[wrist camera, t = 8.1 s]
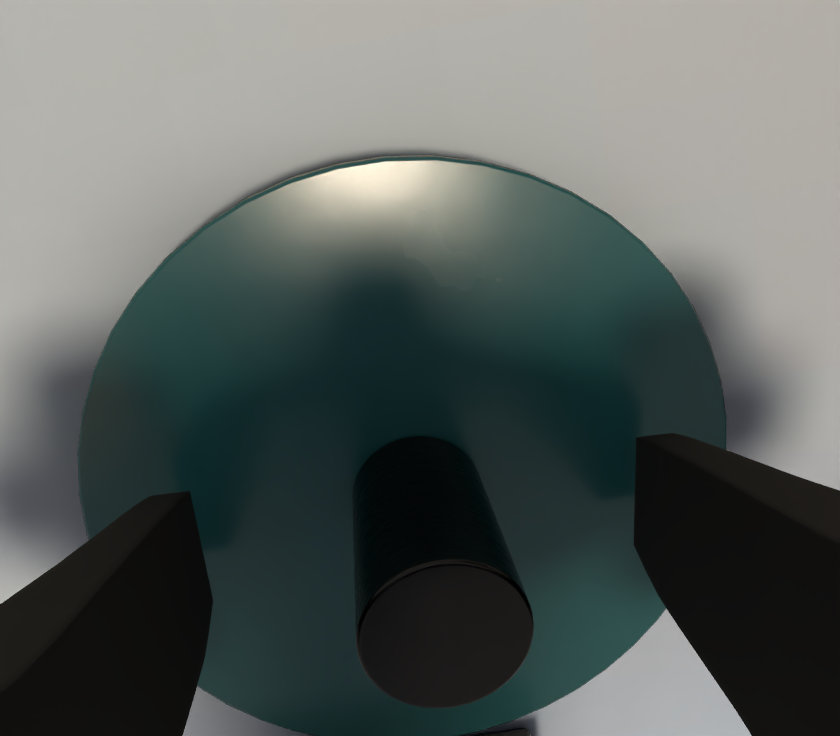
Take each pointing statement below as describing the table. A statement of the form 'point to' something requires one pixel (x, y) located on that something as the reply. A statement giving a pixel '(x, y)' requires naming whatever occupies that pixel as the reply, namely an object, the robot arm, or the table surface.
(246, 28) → the table surface
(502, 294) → the pot lid
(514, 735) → the tall bronze cuboid
